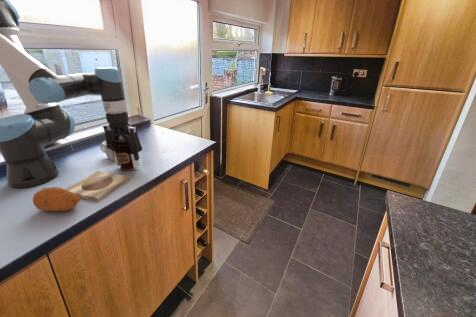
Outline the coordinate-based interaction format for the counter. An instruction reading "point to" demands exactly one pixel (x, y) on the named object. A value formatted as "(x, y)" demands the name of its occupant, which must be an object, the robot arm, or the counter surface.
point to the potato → (55, 199)
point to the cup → (107, 151)
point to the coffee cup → (123, 154)
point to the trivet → (97, 185)
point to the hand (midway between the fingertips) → (128, 165)
